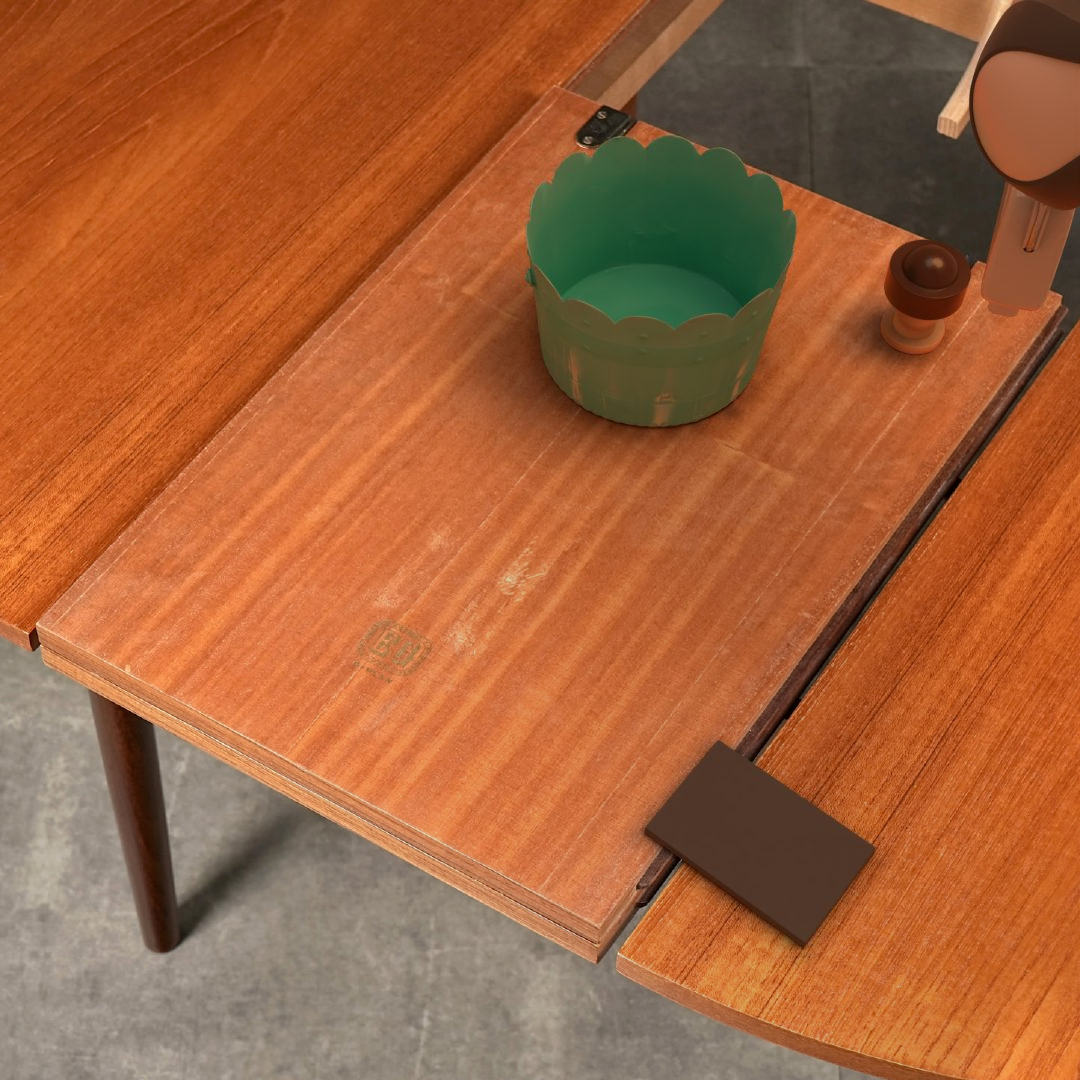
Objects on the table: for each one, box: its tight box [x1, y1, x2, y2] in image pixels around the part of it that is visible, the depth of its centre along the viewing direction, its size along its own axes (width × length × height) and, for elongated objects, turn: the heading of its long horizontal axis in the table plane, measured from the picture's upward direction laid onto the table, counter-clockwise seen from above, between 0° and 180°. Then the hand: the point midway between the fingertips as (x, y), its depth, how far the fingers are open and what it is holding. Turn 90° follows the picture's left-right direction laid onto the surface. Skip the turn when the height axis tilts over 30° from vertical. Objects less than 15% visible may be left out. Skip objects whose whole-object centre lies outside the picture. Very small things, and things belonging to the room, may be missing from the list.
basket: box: [524, 134, 798, 428], centre depth 124 cm, size 19×18×13 cm
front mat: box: [644, 739, 877, 948], centre depth 106 cm, size 12×8×1 cm, turn 52°
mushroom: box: [880, 239, 972, 355], centre depth 128 cm, size 6×6×8 cm
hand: (1014, 254), depth 106 cm, fingers open, 8 cm apart
